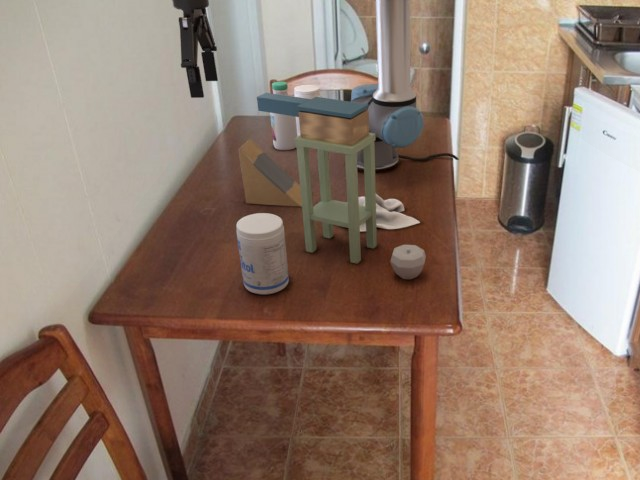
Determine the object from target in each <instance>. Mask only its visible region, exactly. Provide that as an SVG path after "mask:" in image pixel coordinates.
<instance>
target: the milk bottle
mask: <svg viewBox="0 0 640 480" xmlns="http://www.w3.org/2000/svg"><path fill="white" fill-rule="evenodd" d="M288 87H289V86H288V82H286V81H275V82H272V84H271V88H272V92H273V94H279V95H286V96H289V94H288V90H289V89H288ZM269 113H270V112H269ZM269 115H270V124H271V127H270V128H271V134H272V144H273V147H274V148H275V149H276V150H278V151H289V150H294V149H297V147H296V145H295V140H294V138H296V137H297V128H296V118H295V116H289V115H282V114H276V113H270V114H269Z"/></svg>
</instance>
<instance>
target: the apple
mask: <svg viewBox="0 0 640 480" xmlns="http://www.w3.org/2000/svg"><path fill="white" fill-rule="evenodd" d="M426 258H427V255H426V252H425V250H424V249H423V248H421V247H420V246H418V245H416V244H402V245H399V246H396V247H394V248H393V251H392V253H391V258H390V264H391V267H392V270H393V272H394V273H395V274H396V275H397V276H399V277H400V278H401V279H403V280H413V279H415V278H417V277H419V275H421V273H422V271H423V269H424V266H425V264H426V263H425V262H426Z"/></svg>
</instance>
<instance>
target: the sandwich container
mask: <svg viewBox="0 0 640 480" xmlns="http://www.w3.org/2000/svg"><path fill="white" fill-rule="evenodd" d="M238 158H239V165H240V170H241V171H240V172H241V177H242V184H243V191H244V198H245V204H250V205H251V204H252V205H254V204H255V205H263V206H265V205H266V206H282V207H283V206H284V207H301V208H302V202H301V191H300V183H299V182H297V181H296V180H294V179H293V178H292V177H291V176H290V175H289V174H288V173H287V172H286V171H284V169H282V167H281V166H279V165H278V164H277V163H276V162H275V161H274V160H273V159H272V158H271V157H270V156H269V155H268V154H267V153H266V152H264V151H263V150H262V149H261V148H260V146H259V145H257V144H256V143H255V142H254V141H253V140H252V139H251V138H249V139H248V140H247V141H246V142H245V143H243V144H242V145H241V146H240V147H239V148H238Z"/></svg>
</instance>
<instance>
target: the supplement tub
mask: <svg viewBox="0 0 640 480" xmlns="http://www.w3.org/2000/svg"><path fill="white" fill-rule="evenodd" d="M235 226H236V239H237V240H236V241H237V249H238V253H239V262H240V268H241V275H242V281H243V286H244V288H245V289H246V291H249V292H250V293H253V294H256V295H271V294H272V295H273V294H276V293H278V292H280V291H282V290H284V289H285V288H286V287H287V286H288V284H289V281H290V278H289V277H290V276H289V265H288V256H287V244H286V234H285V233H286V232H285V226H284V222H283V218H281V217H280V216H278V215H276V214H273V213H267V212H258V213H251V214H248V215H246V216H243V217H241V218H240V219H239V220H238V221H237V222H236V225H235Z"/></svg>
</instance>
